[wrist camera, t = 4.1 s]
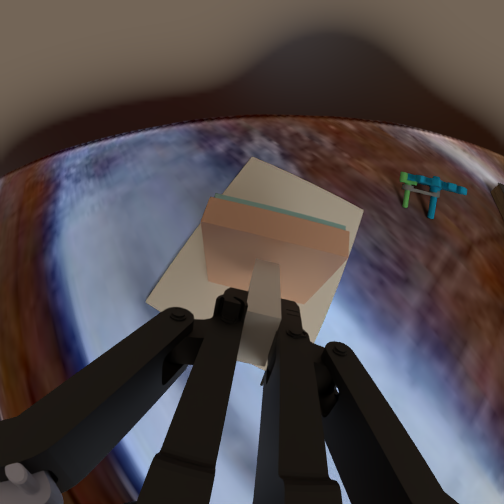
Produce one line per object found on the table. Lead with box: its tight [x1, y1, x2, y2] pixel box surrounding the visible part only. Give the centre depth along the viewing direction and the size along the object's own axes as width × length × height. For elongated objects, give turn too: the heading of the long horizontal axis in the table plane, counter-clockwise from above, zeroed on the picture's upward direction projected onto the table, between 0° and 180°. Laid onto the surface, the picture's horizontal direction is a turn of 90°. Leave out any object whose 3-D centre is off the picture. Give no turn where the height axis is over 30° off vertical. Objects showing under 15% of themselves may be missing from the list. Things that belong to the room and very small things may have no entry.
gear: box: [400, 172, 467, 219], centre depth 31 cm, size 11×6×10 cm
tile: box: [201, 193, 350, 304], centre depth 21 cm, size 2×9×10 cm, turn 77°
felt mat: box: [146, 157, 364, 371], centre depth 27 cm, size 15×21×1 cm
